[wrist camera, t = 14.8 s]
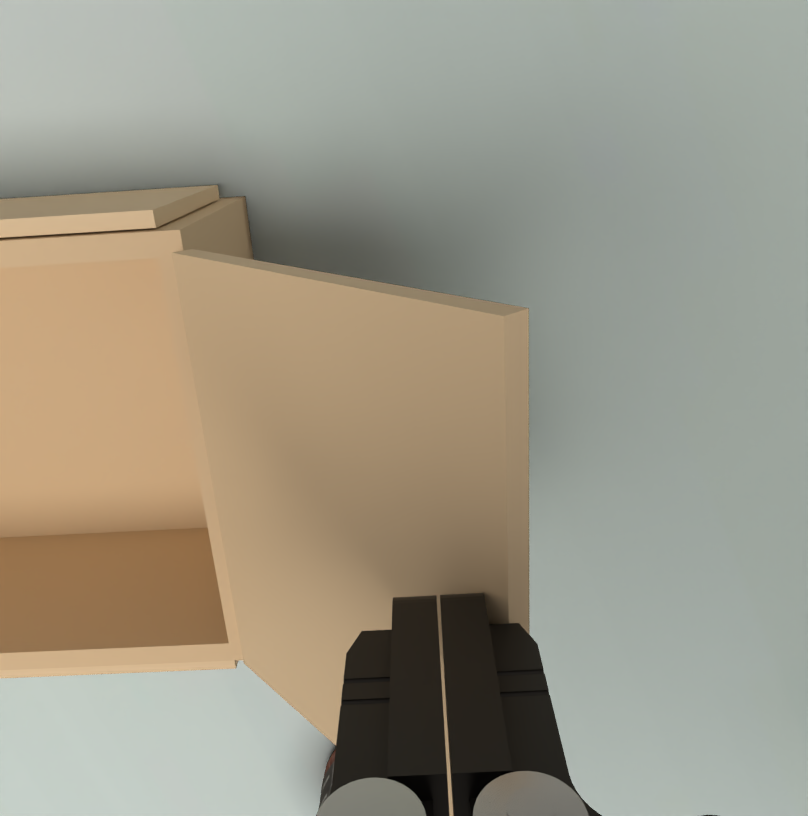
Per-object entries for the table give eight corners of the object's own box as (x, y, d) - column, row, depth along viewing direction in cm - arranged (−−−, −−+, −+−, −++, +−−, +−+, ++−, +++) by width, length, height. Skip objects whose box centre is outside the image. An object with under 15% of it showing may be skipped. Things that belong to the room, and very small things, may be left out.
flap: (192, 248, 17) (528, 308, 10) (259, 654, 21) (529, 885, 14) (171, 252, 16) (504, 316, 10) (244, 662, 21) (512, 904, 14)
